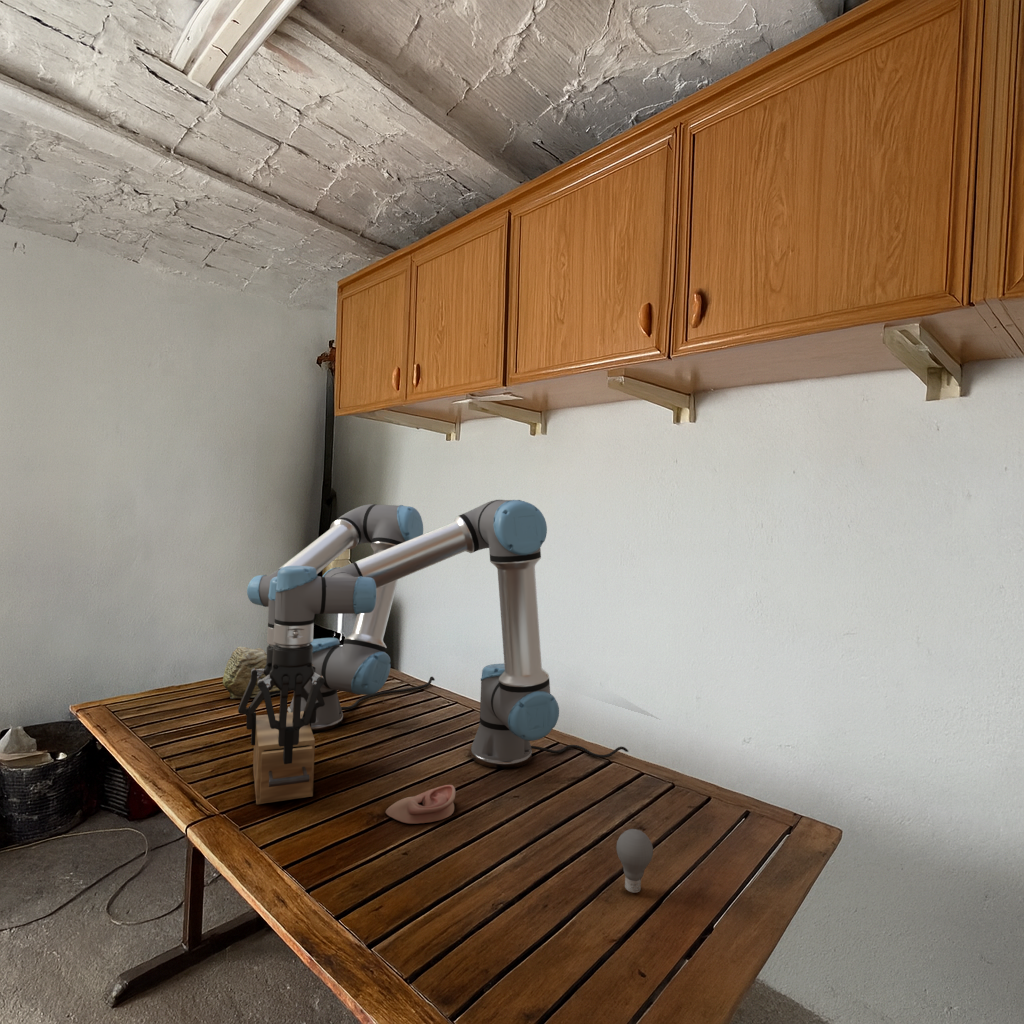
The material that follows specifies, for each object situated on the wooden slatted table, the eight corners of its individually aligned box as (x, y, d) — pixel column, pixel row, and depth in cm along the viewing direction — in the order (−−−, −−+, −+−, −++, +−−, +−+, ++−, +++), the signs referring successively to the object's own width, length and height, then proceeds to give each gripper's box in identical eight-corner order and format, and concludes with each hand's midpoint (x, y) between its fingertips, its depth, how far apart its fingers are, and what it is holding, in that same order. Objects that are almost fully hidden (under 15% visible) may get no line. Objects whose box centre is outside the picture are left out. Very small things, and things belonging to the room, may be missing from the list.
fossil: (218, 695, 195) (220, 647, 195) (278, 685, 208) (279, 640, 207) (228, 703, 189) (230, 653, 188) (289, 692, 201) (290, 645, 201)
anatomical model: (379, 799, 125) (401, 775, 136) (379, 819, 125) (400, 793, 136) (444, 809, 122) (460, 783, 134) (443, 829, 122) (460, 802, 134)
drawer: (314, 808, 127) (316, 759, 126) (261, 816, 123) (263, 765, 122) (302, 762, 148) (303, 719, 148) (256, 768, 144) (258, 724, 144)
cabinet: (312, 796, 134) (314, 739, 134) (256, 804, 129) (258, 746, 129) (303, 761, 151) (305, 711, 151) (253, 767, 146) (254, 715, 146)
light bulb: (610, 879, 108) (613, 822, 108) (644, 879, 109) (647, 822, 109) (619, 902, 102) (622, 840, 102) (655, 901, 103) (658, 840, 103)
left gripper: (228, 651, 136) (224, 752, 136) (340, 645, 146) (336, 740, 146) (228, 643, 143) (224, 739, 143) (335, 638, 152) (331, 728, 153)
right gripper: (259, 649, 120) (253, 772, 121) (329, 646, 126) (323, 764, 126) (257, 640, 127) (251, 757, 127) (324, 638, 133) (318, 750, 133)
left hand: (281, 740), depth 145 cm, fingers closed on cabinet, 11 cm apart
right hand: (287, 760), depth 127 cm, fingers closed
